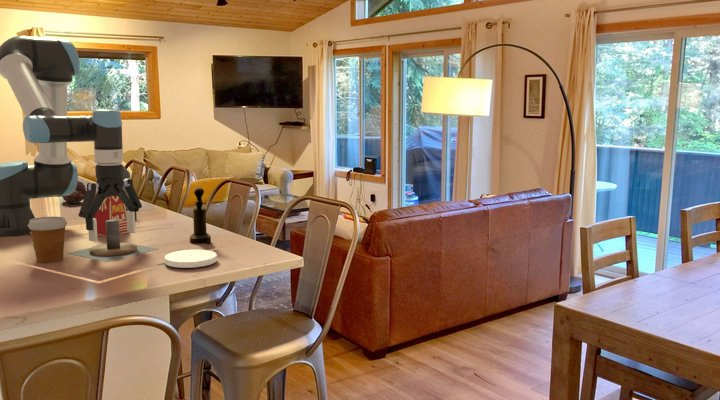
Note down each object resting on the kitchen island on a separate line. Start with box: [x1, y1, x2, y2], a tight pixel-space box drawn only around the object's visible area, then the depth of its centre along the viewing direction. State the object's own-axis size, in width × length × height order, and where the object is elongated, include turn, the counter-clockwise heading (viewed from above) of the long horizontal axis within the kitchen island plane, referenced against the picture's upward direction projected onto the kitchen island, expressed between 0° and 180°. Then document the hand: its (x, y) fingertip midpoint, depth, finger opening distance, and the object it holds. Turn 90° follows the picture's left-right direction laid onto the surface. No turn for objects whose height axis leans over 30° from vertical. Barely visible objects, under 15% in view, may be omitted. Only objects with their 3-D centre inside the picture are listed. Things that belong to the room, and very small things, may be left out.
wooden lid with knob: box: [89, 220, 138, 256], centre depth 176 cm, size 13×13×9 cm
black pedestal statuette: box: [189, 186, 212, 245], centre depth 190 cm, size 7×6×18 cm
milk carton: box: [94, 178, 128, 237], centre depth 200 cm, size 9×9×20 cm
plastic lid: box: [163, 249, 218, 269], centre depth 167 cm, size 14×14×2 cm
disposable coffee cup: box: [28, 216, 68, 264], centre depth 165 cm, size 10×10×12 cm
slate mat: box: [66, 241, 159, 263], centre depth 177 cm, size 18×18×1 cm
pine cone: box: [61, 180, 87, 204], centre depth 260 cm, size 18×10×10 cm, turn 40°
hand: (113, 236), depth 176 cm, fingers open, 12 cm apart
